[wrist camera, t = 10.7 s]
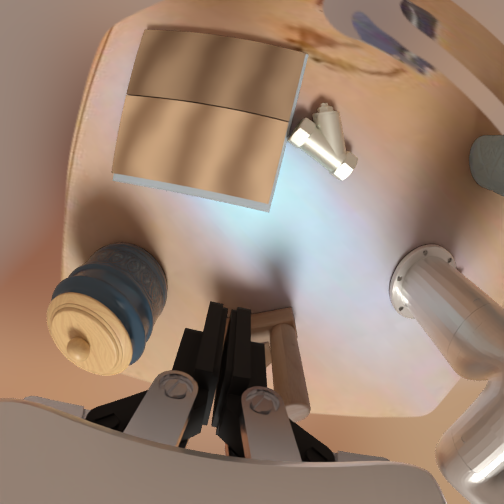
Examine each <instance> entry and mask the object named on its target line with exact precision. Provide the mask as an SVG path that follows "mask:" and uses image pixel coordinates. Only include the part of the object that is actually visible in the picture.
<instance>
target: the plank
mask: <svg viewBox="0 0 504 504" xmlns="http://www.w3.org/2000/svg"><path fill="white" fill-rule="evenodd" d="M287 128H288V122H285V121H281V120H277V119H273V118H268V117H264V116H260V115H255V114H251V113H246V112H241V111H237V110H232V109H226V108H221V107H215V106H210V105H204V104H198V103H191V102H184V101H177V100H169V99H161V98H151V97H141V96H129V95H126V99H125V103H124V107H123V112H122V116H121V121H120V126H119V131H118V136H117V142H116V148H115V154H114V160H113V166H112V173H114V174H120V175H126V176H132V177H138V178H144V179H149V180H155V181H160V182H166V183H171V184H176V185H181V186H186V187H191V188H196V189H201V190H206V191H211V192H216V193H221V194H225V195H230V196H234V197H239V198H244V199H248V200H252V201H257V202H261V203H266V204H269V200H270V196H271V192H272V188H273V184H274V180H275V176H276V172H277V168H278V164H279V160H280V156H281V152H282V148H283V144H284V140H285V136H286V132H287Z"/></svg>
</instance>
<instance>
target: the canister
mask: <svg viewBox="0 0 504 504" xmlns="http://www.w3.org/2000/svg"><path fill="white" fill-rule="evenodd" d="M166 299H167V281H166V277H165V274H164V272H163V270H162V268H161V266H160V265H159V263H158V262H157V261H156V259H155V258H154V257H153V256H152V255H151V254H150V253H148V252H147V251H146V250H144V249H142V248H140V247H138V246H136V245H133V244H129V243H114V244H110V245H107V246H104V247H102V248H101V249H99V250H98V251H97V252H95V253H94V254H93V255H92V256H91V257H90V259H89V260H88V261H87V262H85V263H84V264H83V265H82V266H80V267H78V268H77V269H75V270H74V271H73V272H72V273H71V274H70V275H69V277H68V278H66V279H64V280H63V281H61V282H60V283H59V284H58V285H57V287H56V288H55V290H54V292H53V295H52V299H51V303H50V304H49V307H48V309H47V325H48V329H49V332H50V335H51V337H52V339H53V341H54V342H55V344H56V346H57V347H58V348H59V350H60V351H61V352H62V354H63V355H64V356H65V357H66V358H67V359H68V360H69V361H71V362H72V363H73V364H75V365H76V366H78V367H79V368H81V369H84V370H86V371H88V372H91V373H94V374H98V375H106V376H109V375H115V374H119V373H121V372H123V371H124V370H125V369H126V368H127V367H128V366H129V365H132V364H133V363H135V362H136V361H137V360H138V359H139V358H140V357H141V355H142V354H143V352H144V349H145V344H146V342H147V341H148V339H149V338H150V336H151V333H152V330H153V326H154V324H155V322H156V320H157V318H158V317H159V315H160V314H161V312H162V310H163V308H164V306H165V303H166Z"/></svg>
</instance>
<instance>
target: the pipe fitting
mask: <svg viewBox="0 0 504 504" xmlns="http://www.w3.org/2000/svg"><path fill="white" fill-rule="evenodd" d="M320 106H321V107H319V108H317V111H318V113H315V114H313V115H312V116H313V121H314V123H313V122H312V121H311V120H309V119H308V118H304V119H302V120H301V122H300V123H299V124H298V125H297V126H296V128H295V129H294V130H293V132H292V133H291V134H290V136H289V138H288V140H287V141H288V142H289V143H291V144H292V145H293V146H295V147H296V148H300V149H301V150H302V151H304V152H305V153H306V154H308V155H309V156H310V157H312V158H313V159H314V160H316V161H317V162H318V163H320V164H321V165H322V166H323V167H325V168H326V169H327V170H328V171H329V173H330V174H331V175H333V176H334V177H335V178H336V179H338V180H341V181H342V180H344V179H345V178H347V177H348V176H349V175H350V174H351V173H352V171H353V170H354V168H355V167H356V165H357V161H358V158H357V157H356V156H354V155H353V154H352V153H351V152H350V151H346V148H345V142H344V136H343V130H342V124H341V118H340V113H339V111H333V107H332V106H328V103H321V104H320Z"/></svg>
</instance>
